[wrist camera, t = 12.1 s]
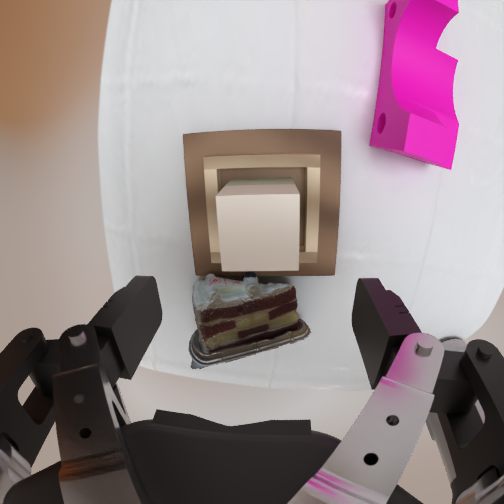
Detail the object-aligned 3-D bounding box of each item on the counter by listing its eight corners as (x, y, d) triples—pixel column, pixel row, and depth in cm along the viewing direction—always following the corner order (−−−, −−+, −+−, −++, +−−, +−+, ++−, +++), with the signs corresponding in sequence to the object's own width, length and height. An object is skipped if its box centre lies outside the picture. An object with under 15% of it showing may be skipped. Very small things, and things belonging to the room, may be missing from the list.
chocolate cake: (319, 265, 25) (196, 319, 19) (318, 331, 28) (214, 392, 21) (252, 244, 33) (150, 278, 26) (258, 301, 35) (166, 340, 28)
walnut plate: (332, 269, 28) (337, 283, 25) (198, 269, 29) (191, 283, 26) (338, 130, 23) (345, 130, 20) (186, 134, 24) (177, 134, 21)
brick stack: (292, 234, 25) (298, 270, 19) (234, 235, 26) (221, 271, 19) (292, 177, 23) (299, 194, 17) (231, 178, 24) (215, 196, 17)
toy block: (426, 162, 23) (471, 176, 16) (368, 145, 23) (403, 151, 16) (440, 28, 17) (480, 9, 10) (384, 5, 17) (415, -27, 10)
